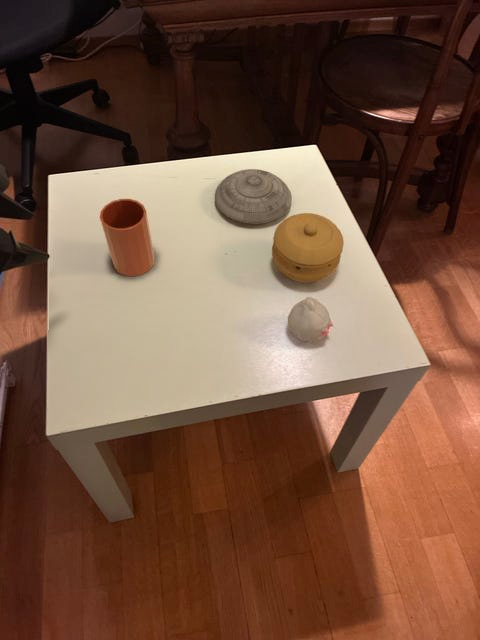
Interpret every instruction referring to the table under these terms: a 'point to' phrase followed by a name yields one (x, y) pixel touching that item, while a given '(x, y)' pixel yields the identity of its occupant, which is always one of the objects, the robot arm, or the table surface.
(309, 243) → the pot
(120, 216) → the tumbler
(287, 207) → the flying saucer
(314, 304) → the figurine
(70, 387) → the table surface
